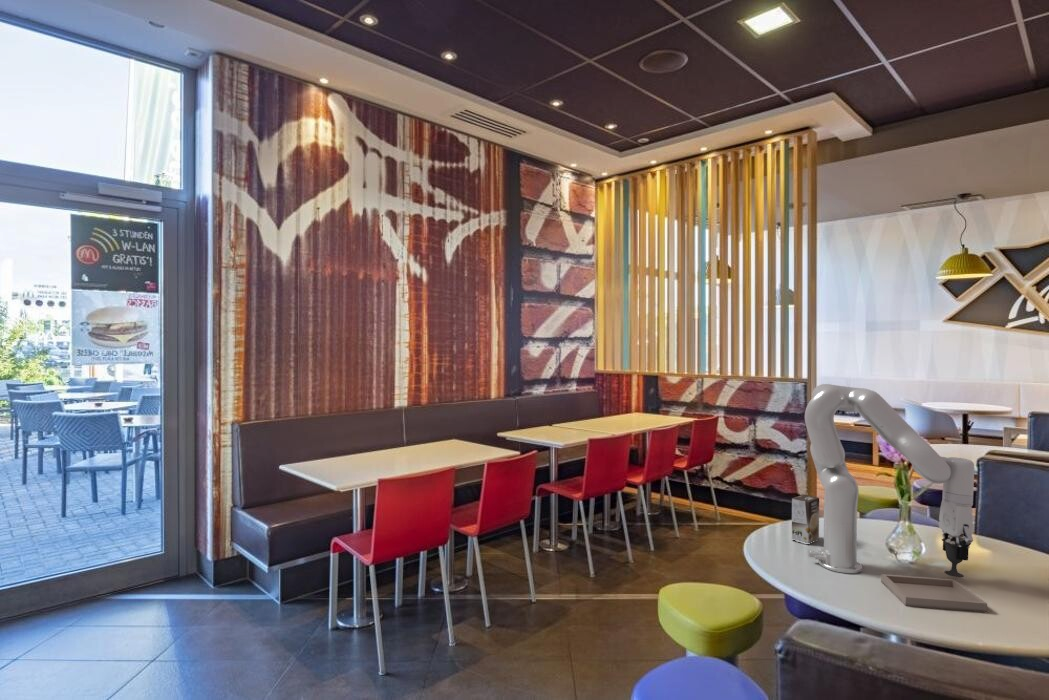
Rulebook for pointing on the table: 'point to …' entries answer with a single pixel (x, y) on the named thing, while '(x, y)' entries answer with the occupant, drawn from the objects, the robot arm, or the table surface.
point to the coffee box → (805, 518)
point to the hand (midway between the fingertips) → (955, 554)
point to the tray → (933, 593)
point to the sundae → (952, 555)
